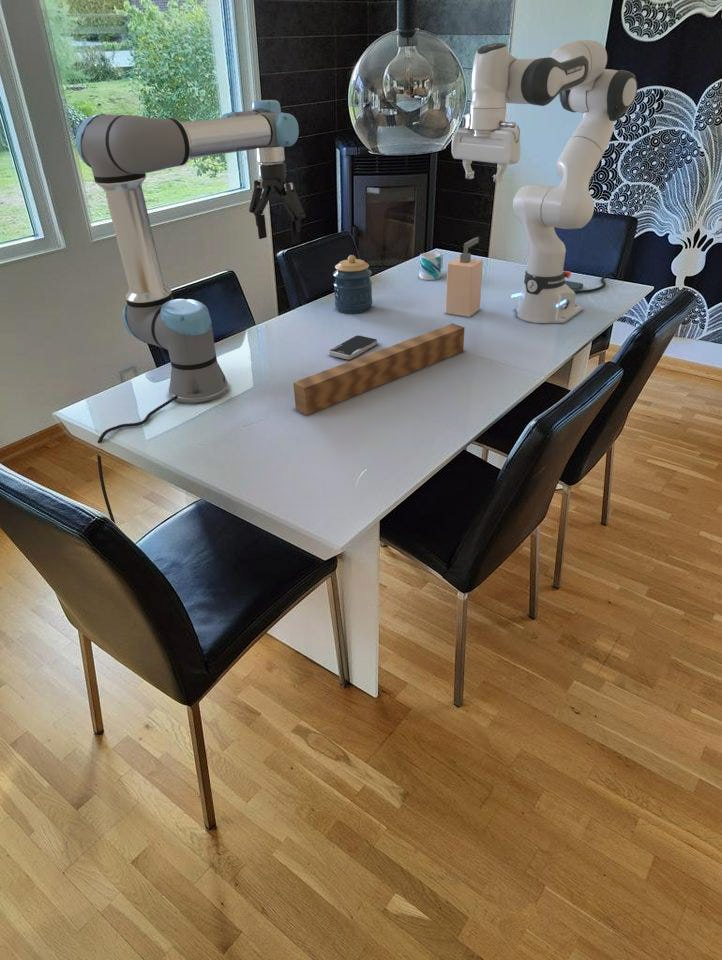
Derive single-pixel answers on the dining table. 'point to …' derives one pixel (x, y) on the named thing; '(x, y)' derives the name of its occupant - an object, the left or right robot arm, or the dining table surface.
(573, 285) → the smartphone
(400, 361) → the post
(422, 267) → the mug
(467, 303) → the soap dispenser
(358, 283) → the canister
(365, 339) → the smartphone
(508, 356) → the dining table surface
